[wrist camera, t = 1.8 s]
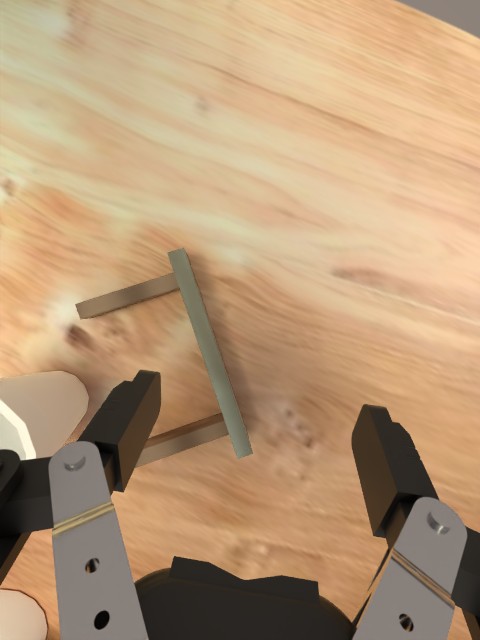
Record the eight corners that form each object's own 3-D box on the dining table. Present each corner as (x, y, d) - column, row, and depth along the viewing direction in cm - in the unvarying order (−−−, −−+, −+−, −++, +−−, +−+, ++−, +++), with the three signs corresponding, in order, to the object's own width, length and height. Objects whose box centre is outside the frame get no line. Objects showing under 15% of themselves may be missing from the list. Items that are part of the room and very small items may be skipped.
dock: (145, 468, 34) (134, 496, 29) (80, 290, 33) (56, 287, 28) (247, 432, 35) (252, 453, 30) (187, 256, 34) (183, 247, 29)
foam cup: (115, 429, 34) (54, 506, 21) (27, 457, 33) (-92, 554, 20) (86, 343, 33) (5, 368, 20) (-4, 370, 32) (-147, 413, 20)
